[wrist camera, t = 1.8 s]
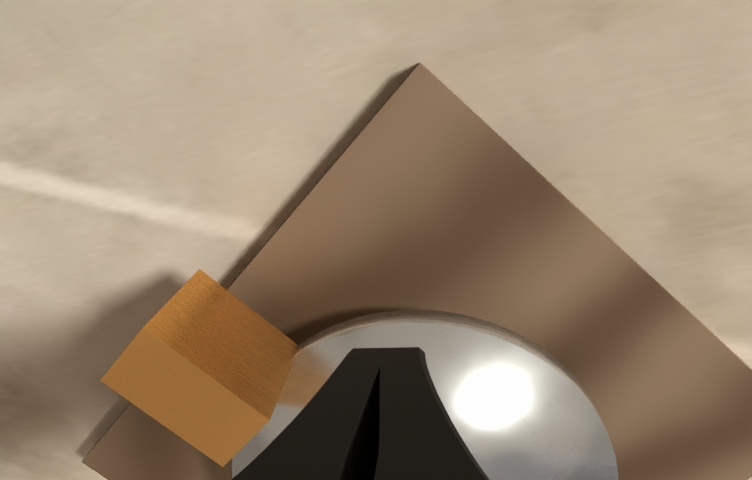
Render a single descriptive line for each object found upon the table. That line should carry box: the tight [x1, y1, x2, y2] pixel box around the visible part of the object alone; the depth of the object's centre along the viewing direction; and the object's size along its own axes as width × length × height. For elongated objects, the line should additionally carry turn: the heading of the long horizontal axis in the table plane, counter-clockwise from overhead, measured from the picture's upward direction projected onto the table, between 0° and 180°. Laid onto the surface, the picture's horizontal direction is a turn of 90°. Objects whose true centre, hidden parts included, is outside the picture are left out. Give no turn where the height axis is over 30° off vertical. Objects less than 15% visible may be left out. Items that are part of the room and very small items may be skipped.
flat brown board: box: [82, 63, 752, 480], centre depth 22 cm, size 20×22×2 cm
